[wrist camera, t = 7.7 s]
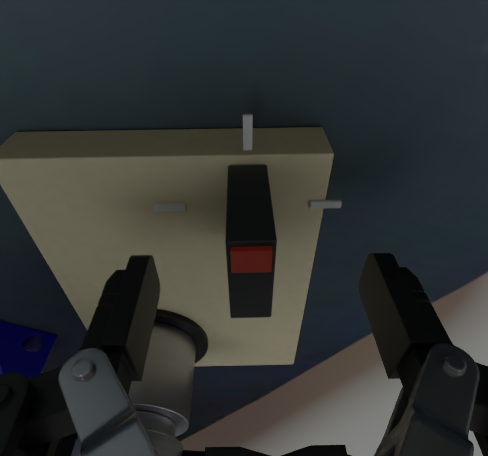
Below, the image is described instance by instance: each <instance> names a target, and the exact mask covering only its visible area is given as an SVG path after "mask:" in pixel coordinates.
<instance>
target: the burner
mask: <svg viewBox="0 0 488 456" xmlns="http://www.w3.org/2000/svg"><path fill="white" fill-rule="evenodd" d="M154 322H159V323H164V324H168V325H171V326H174V327H177V328H179V329H181V330H183V331H184V332H186V333H187V334H188V335H190V336H191V337H192V339H193V340H194V342H195V345H196V354H195V363H197V362H198V361H200V360H201V359H202V358H203V357H204V356H205V354H206V352H207V350H208V337H207V335H206V333H205V331H204V330H203V329H202V327H200V326H199V325H198V324H197V323H196V322H194V321H193V320H191V319H189V318H187V317H185V316H183V315H180V314H177V313H174V312H171V311H167V310H162V309H157V311H156V316H155V320H154Z"/></svg>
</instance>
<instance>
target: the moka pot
mask: <svg viewBox="0 0 488 456" xmlns="http://www.w3.org/2000/svg"><path fill="white" fill-rule="evenodd" d="M195 354H196V345H195V342H194V340H193V339H192V337H191V336H190V335H188V334H187V333H186V332H184V331H183V330H181V329H179V328H177V327H174V326H171V325H168V324H164V323H159V322H154V325H153V330H152V334H151V339H150V344H149V348H148V353H147V358H146V362H145V367H144V372H143V376H142V381H132V382H131V386H130V390H129V394H128V396H129V398H130V400H131V402H132V404H133V405H134V407H135V409H136V411H137V413H138V415H139V417H140V419H141V421H142V423H143V425H144V427H145V429H146V431H147V433H148V435H149V437H150V439H151V441H152V443H153V445H154V447H155V449H156V451H157V453H158V455H159V456H205V451H188V450H183V446H182V444H181V442H180V441H179V440H177V439H176V438H175V437H176V436H178V435H181V434H182V433H184V432H185V431H186V430H187V428H188V426H189V417H190V407H191V396H192V386H193V375H194V365H195ZM80 448H81V443H80V440H79V437H78V438H77V439H76V442H75V445H74V448H73V451H72V454H71V456H81V455H80Z"/></svg>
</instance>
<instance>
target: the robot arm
mask: <svg viewBox="0 0 488 456" xmlns="http://www.w3.org/2000/svg"><path fill="white" fill-rule="evenodd" d="M359 293H360V297H361V300H362V303H363V306H364V309H365V312H366V315H367V317H368V320H369V323H370V326H371V329H372V332H373V335H374V338H375V340H376V344H377V347H378V350H379V353H380V355H381V358H382V361H383V364H384V367H385V370H386V373H387V376H388V378H389V379H390V378H392V379H394V378H400V380H401V383H402V385H403V388H402V389H401V391H400V394H399V397H398V399H397V403H396V405H395V408H394V410H393V413H392V416H391V418H390V421H389V424H388V426H387V429H386V432H385V435H384V437H383V439H382V442H381V444H380V445H379V447H378V449H377V451H376V453H375V455H374V456H473V451H474V447H473V443H472V442H471V441H469V440H468V433H469V430H470V431H473V432H474V435H475V437H476V439H477V442H478V444H479V447H480V449H481V451H482V454H483V456H488V366H485V365H481V364H479V363H476V362H474V360H473V359H472V358H471V357H470V355H468V354H467V353H466V352H465V351H463V350H462V349H460V348H458V347H456V346H454V345H453V344H452V342H451V341H450V339H449V337H448V335H447V333H446V331H445V329H444V327H443V325H442V323H441V322H440V320H439V318H438V316H437V314H436V312H435V310H434V308H433V306H432V304H431V303H429V299H428V297H427V295H426V293H424V289H423V287H422V286H421V284H420V282H419V280H418V278H417V277H416V276H415V275H414V274H413V273H412V272H411V271H410V270H409V269H407V268H406V267H399V266H398V264H397V262H396V259H395V257H394V256H393V255H392V254H391V253H370V254H369V255H368V257H367V260H366V263H365V265H364V268H363V271H362V274H361V277H360V280H359ZM159 297H160V281H159V277H158V273H157V269H156V265H155V261H154V258H153V256H152V255H131V256H130V258H129V261H128V264H127V267H126V270H116V271H115V272H114V273H113V274H112V275H111V276H110V278H109V279H108V280H107V281H106V283H105V286H104V289H103V291H102V296H101V297H100V299H99V302H98V307H96V310H95V312H94V315H93V318H92V320H91V323H90V326H89V328H88V331H87V334H86V336H85V339H84V342H83V344H82V346H81V348H80V350H79V351H78V352H77V353H75V354H74V355H72V356H71V357H70V358H69V359H68V360H67V361H66V362H65V364H64V365H63V366H61V367H59V368H57V369H54V370H51V371H48V372H45V373H42V374H39V375H36V376H33V377H30V378H26V377H25V376H24V375H22V374H20V373H17V372H8V373H4V374H1V375H0V456H71V454H72V451H73V448H74V445H75V442H76V439H77V438H78V437H79V440H80V443H81V448H80V455H81V456H159V455H158V453H157V451H156V449H155V447H154V445H153V443H152V441H151V439H150V437H149V435H148V433H147V431H146V429H145V427H144V425H143V423H142V421H141V419H140V417H139V415H138V413H137V411H136V409H135V407H134V405H133V404H132V402H131V400H130V398H129V396H128V394H129V390H130V386H131V382H132V381H142V376H143V372H144V367H145V362H146V358H147V353H148V348H149V344H150V339H151V334H152V330H153V325H154V320H155V316H156V311H157V307H158V302H159ZM205 456H270V455H266V454H263V453H259V452H256V451H252V450H249V449H246V448H242V447H205ZM282 456H351V455H348V454H347V452H346V447H345V445H315V446H314V445H313V446H308V447H305V448H302V449H299V450H296V451H293V452H290V453H288V454H285V455H282Z"/></svg>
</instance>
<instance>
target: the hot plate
mask: <svg viewBox="0 0 488 456" xmlns="http://www.w3.org/2000/svg"><path fill="white" fill-rule="evenodd" d="M333 157H334V153H333V151H332V148H331V146H330V144H329V142H328V139H327V137H326V135H325V132H324V130H323V128H322V127H295V128H253V115H252V114H243V128H232V129H168V130H105V131H42V132H15V133H14V134H13V135H12V136H11V137H10V138H9V139H7V140H6V141H5V142H4V143H3V144H2V145H1V146H0V185H1V187H2V188H3V190H4V192H5V193H6V195H7V197H8V198H9V200H10V202H11V203H12V205H13V207H14V208H15V210H16V212H17V213H18V215H19V217H20V218H21V220H22V222H23V223H24V225H25V227H26V228H27V230H28V232H29V233H30V235H31V237H32V238H33V240H34V242H35V243H36V245H37V247H38V248H39V250H40V252H41V254H42V255H43V257H44V259H45V260H46V262H47V264H48V265H49V267H50V269H51V270H52V272H53V274H54V275H55V277H56V279H57V280H58V282H59V284H60V285H61V287H62V289H63V290H64V292H65V294H66V295H67V297H68V299H69V300H70V302H71V304H72V305H73V307H74V309H75V310H76V312H77V314H78V316H79V317H80V319H81V321H82V322H83V324H84V326H85V327H86V329H87V331H88V328H89V326H90V323H91V320H92V318H93V315H94V312H95V310H96V307H98V302H99V299H100V297H101V296H102V291H103V289H104V286H105V283H106V281H107V280H108V279H109V278H110V276H111V275H112V274H113V273H114V272H115V271H116V270H126V267H127V264H128V261H129V258H130V256H131V255H152V256H153V258H154V261H155V265H156V269H157V273H158V277H159V281H160V297H159V302H158V307H157V309H162V310H167V311H171V312H174V313H177V314H180V315H183V316H185V317H187V318H189V319H191V320H193V321H194V322H196V323H197V324H198V325H199V326H200V327H202V329H203V330H204V331H205V333H206V335H207V337H208V350H207V352H206V354H205V356H204V357H203V358H202V359H201V360H200V361H198V362H197V363H195V365H194V366H235V365H282V364H294V359H295V354H296V349H297V344H298V338H299V333H300V328H301V323H302V318H303V312H304V307H305V302H306V297H307V292H308V287H309V281H310V276H311V271H312V266H313V261H314V255H315V250H316V245H317V240H318V235H319V229H320V224H321V219H322V214H323V209H324V208H341V204H342V201H341V200H325V198H326V193H327V188H328V183H329V177H330V172H331V167H332V162H333ZM231 165H267V169H268V177H269V184H270V192H271V200H272V207H273V215H274V222H275V230H276V238H277V247H276V260H275V273H274V286H273V300H272V313H271V317H260V318H231V316H230V303H229V288H228V273H227V259H226V244H225V237H226V208H227V179H228V166H231Z"/></svg>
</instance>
